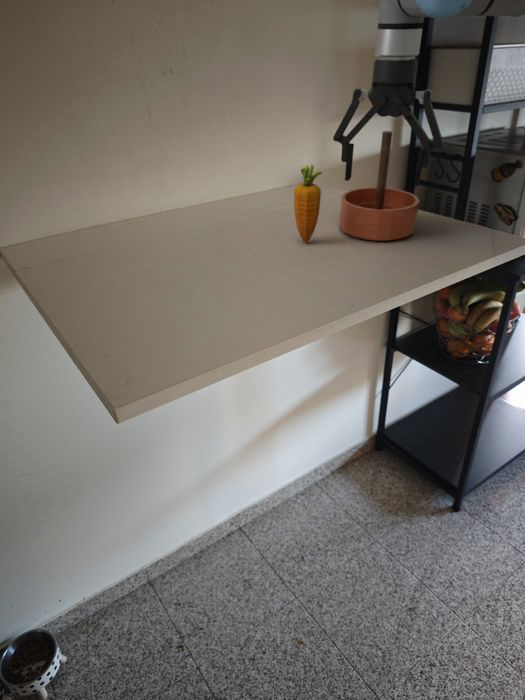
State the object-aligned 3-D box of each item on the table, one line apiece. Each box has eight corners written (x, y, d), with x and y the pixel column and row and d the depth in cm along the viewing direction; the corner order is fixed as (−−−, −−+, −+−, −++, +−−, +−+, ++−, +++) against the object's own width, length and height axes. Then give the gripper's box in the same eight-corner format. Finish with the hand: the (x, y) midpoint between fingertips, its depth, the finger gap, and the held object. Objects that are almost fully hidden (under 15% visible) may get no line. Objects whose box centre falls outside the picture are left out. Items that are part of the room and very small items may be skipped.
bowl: (417, 220, 108) (422, 190, 105) (409, 246, 96) (415, 213, 93) (347, 214, 113) (349, 184, 109) (331, 237, 101) (333, 206, 97)
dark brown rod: (391, 223, 106) (404, 129, 95) (388, 232, 101) (400, 135, 91) (365, 220, 107) (375, 128, 97) (360, 229, 103) (370, 133, 93)
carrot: (306, 236, 101) (308, 159, 93) (323, 243, 98) (328, 164, 90) (287, 242, 99) (289, 164, 91) (305, 249, 96) (308, 169, 87)
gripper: (471, 57, 87) (448, 181, 98) (331, 56, 94) (325, 172, 106) (471, 60, 81) (446, 192, 92) (321, 59, 88) (316, 181, 100)
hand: (381, 181), depth 99 cm, fingers open, 13 cm apart
